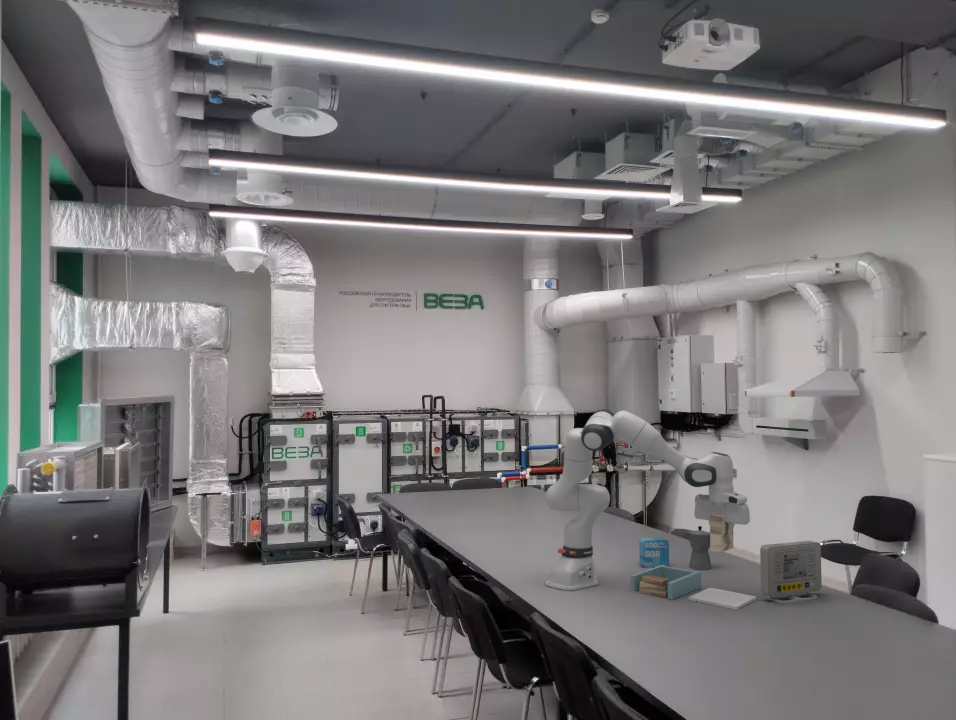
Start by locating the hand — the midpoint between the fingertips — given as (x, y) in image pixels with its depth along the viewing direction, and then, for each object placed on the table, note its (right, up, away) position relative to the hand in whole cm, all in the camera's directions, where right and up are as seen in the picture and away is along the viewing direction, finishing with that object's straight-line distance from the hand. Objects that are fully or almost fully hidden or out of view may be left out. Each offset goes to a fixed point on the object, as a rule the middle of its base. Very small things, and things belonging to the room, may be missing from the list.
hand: (721, 533), depth 266 cm
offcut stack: (-23, -24, +7) cm, 34 cm away
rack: (-17, -25, +13) cm, 33 cm away
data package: (-13, -27, +50) cm, 58 cm away
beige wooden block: (0, -6, 0) cm, 6 cm away
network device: (+27, -25, +2) cm, 36 cm away
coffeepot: (+8, -27, +47) cm, 55 cm away
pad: (0, -24, -1) cm, 24 cm away
